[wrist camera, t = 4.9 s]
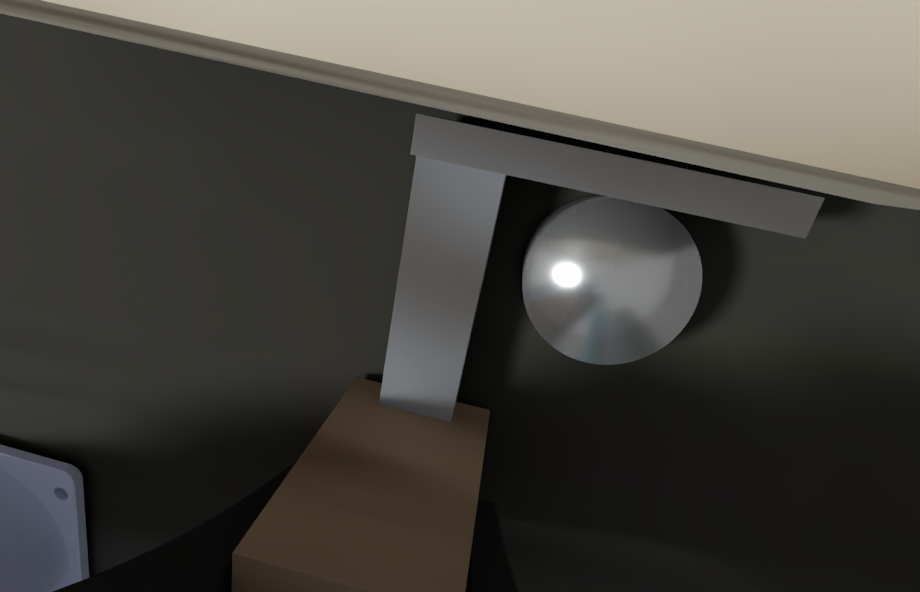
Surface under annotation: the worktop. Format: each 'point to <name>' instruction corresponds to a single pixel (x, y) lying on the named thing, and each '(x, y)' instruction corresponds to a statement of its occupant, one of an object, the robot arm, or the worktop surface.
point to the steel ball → (610, 279)
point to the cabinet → (595, 71)
